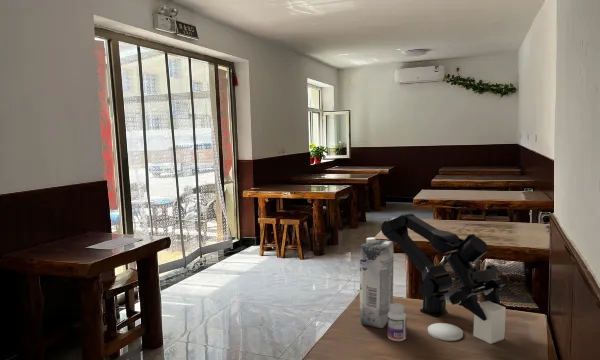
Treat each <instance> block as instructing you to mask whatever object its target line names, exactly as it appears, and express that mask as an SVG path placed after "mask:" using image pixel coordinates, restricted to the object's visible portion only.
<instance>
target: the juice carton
mask: <svg viewBox="0 0 600 360" xmlns="http://www.w3.org/2000/svg"><path fill="white" fill-rule="evenodd" d="M359 253H360V255H359V317H360V318H359V319H360V323H361V325H365V326H370V327H373V328H374V327H375V328H379V329H383V328H385V326H386V324H388V313H389V312H390V305H391V304H393V303H394V261H395V260H394V242H393V241H391V240H384V239H377V238H376V237H372V236H371V237H367V238H366V241H365V243H363V244H361V245H360V252H359Z"/></svg>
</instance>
